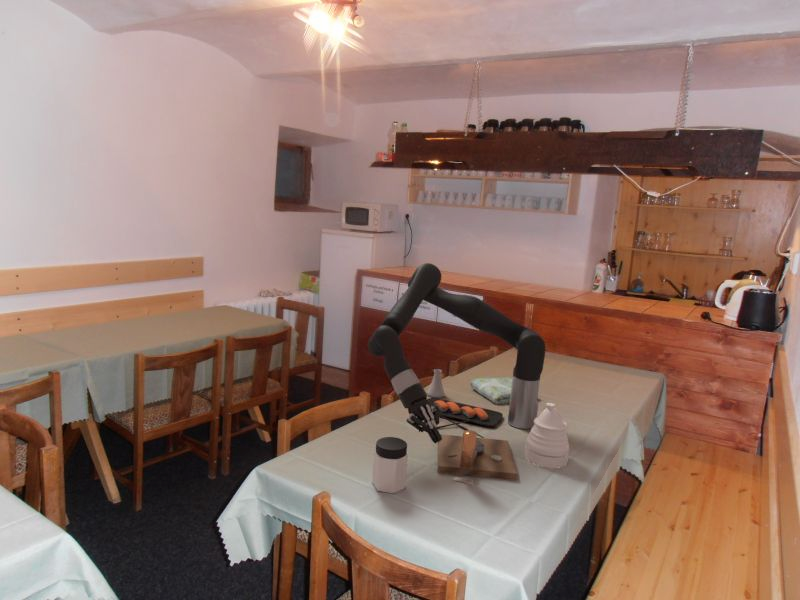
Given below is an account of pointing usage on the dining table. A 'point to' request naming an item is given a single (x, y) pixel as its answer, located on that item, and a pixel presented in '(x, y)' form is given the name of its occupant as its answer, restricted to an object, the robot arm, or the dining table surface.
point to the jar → (390, 464)
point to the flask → (436, 385)
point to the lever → (470, 450)
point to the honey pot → (548, 440)
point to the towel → (494, 388)
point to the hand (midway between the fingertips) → (438, 441)
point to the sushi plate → (465, 413)
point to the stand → (477, 459)
